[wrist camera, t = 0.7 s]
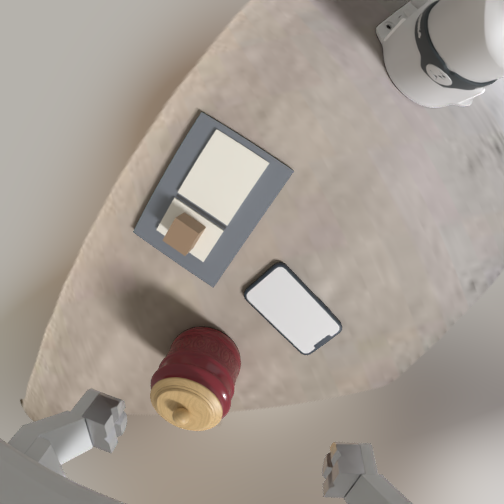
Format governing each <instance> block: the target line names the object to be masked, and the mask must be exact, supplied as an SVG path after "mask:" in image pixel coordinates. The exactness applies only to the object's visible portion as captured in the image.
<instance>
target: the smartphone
mask: <svg viewBox="0 0 504 504" xmlns="http://www.w3.org/2000/svg"><path fill="white" fill-rule="evenodd" d="M244 298H245V299H246V301H247V302H248V303H249V304H250V305H252V306H253V307H254V308H255V309H256V310H257V311H258V312H259V313H260V314H261V315H262V316H263V317H264V318H265V319H266V320H267V321H268V322H269V323H270V324H271V325H272V326H273V327H274V328H275V329H276V330H277V331H278V332H279V333H280V334H281V335H282V336H283V337H284V338H286V339H287V340H288V341H289V342H290V343H291V344H292V345H293V346H294V347H295V348H296V349H297V350H298V351H299V352H300V353H301V354H303V355H309V354H311V353H313V352H314V351H316V350H317V349H318V348H320V347H321V346H322V345H324V344H325V343H327V342H328V341H329V340H331V339H332V338H333V337H335V336H336V335H337V334H339V333H340V332H341V330H342V325H341V322H340V321H339V320H338V319H337V318H336V316H335V315H334V314H333V313H332V312H331V311H330V310H329V308H328V307H327V306H325V304H324V303H323V302H322V301H321V300H320V299H319V298H318V297H317V296H316V295H315V294H314V293H313V292H312V291H311V290H310V289H309V288H308V287H307V286H306V285H305V284H304V283H303V282H302V281H301V280H300V279H299V278H298V276H297V275H296V274H295V273H294V272H293V271H292V270H291V269H290V268H289V267H288V266H287V265H286V264H285V263H282V262H278V263H276V264H274V265H273V266H272V267H271V268H270V269H268V270H267V271H266V272H265V273H264V274H263V275H261V276H260V277H259V278H258V279H257V280H256V281H255V282H253V283H252V284H251V285H250V286H249V287H248V288H247V289H246V290H245V292H244Z"/></svg>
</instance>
